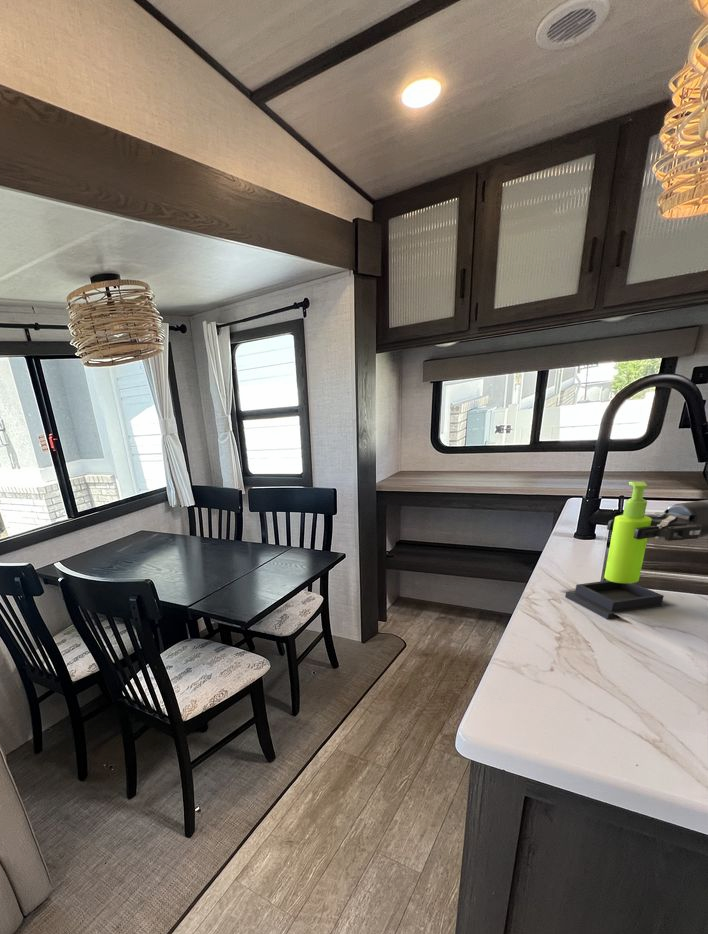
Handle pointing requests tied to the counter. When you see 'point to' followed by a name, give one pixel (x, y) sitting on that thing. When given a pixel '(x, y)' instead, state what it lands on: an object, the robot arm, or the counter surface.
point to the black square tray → (614, 597)
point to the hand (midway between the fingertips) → (622, 529)
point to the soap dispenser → (628, 539)
